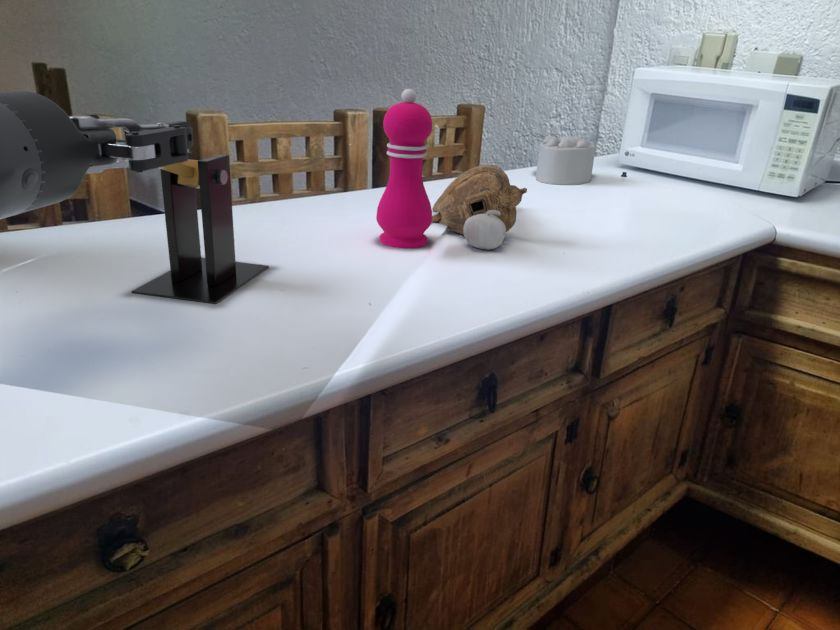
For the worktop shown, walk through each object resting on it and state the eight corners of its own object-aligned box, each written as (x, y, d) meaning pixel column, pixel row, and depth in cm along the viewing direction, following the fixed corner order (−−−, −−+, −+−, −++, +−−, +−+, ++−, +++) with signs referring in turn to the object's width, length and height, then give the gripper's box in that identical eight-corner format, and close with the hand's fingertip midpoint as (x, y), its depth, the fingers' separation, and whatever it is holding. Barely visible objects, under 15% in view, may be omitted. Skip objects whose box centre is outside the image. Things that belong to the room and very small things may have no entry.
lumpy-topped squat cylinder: (596, 179, 142) (602, 138, 139) (569, 187, 132) (575, 143, 129) (553, 172, 148) (557, 132, 144) (524, 179, 138) (529, 137, 135)
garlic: (512, 247, 90) (516, 209, 88) (494, 256, 85) (498, 216, 83) (473, 239, 93) (476, 202, 91) (454, 247, 88) (457, 209, 86)
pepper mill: (436, 245, 89) (445, 89, 81) (423, 260, 82) (431, 92, 75) (384, 239, 90) (389, 85, 83) (368, 253, 84) (371, 88, 76)
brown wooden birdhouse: (410, 189, 91) (514, 156, 86) (445, 161, 113) (530, 134, 108) (432, 256, 94) (534, 228, 89) (462, 216, 116) (546, 192, 111)
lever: (152, 165, 53) (155, 135, 53) (86, 159, 54) (89, 129, 54) (229, 191, 66) (232, 167, 65) (175, 186, 67) (177, 162, 67)
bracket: (216, 314, 63) (205, 169, 58) (132, 303, 65) (114, 161, 59) (269, 276, 74) (264, 151, 69) (196, 267, 76) (186, 145, 70)
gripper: (76, 102, 38) (215, 89, 53) (-126, 87, 41) (60, 78, 55) (94, 228, 41) (222, 182, 56) (-96, 206, 44) (74, 168, 58)
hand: (141, 130), depth 56 cm, fingers open, 8 cm apart
